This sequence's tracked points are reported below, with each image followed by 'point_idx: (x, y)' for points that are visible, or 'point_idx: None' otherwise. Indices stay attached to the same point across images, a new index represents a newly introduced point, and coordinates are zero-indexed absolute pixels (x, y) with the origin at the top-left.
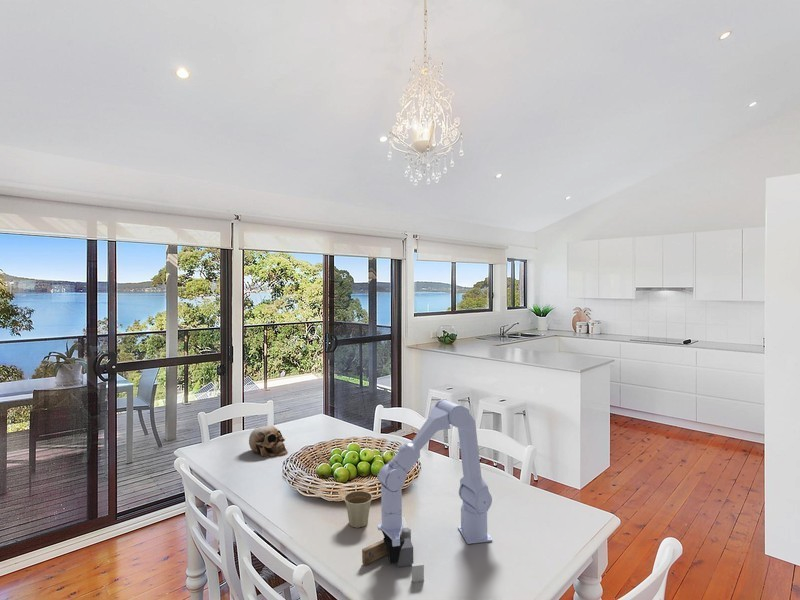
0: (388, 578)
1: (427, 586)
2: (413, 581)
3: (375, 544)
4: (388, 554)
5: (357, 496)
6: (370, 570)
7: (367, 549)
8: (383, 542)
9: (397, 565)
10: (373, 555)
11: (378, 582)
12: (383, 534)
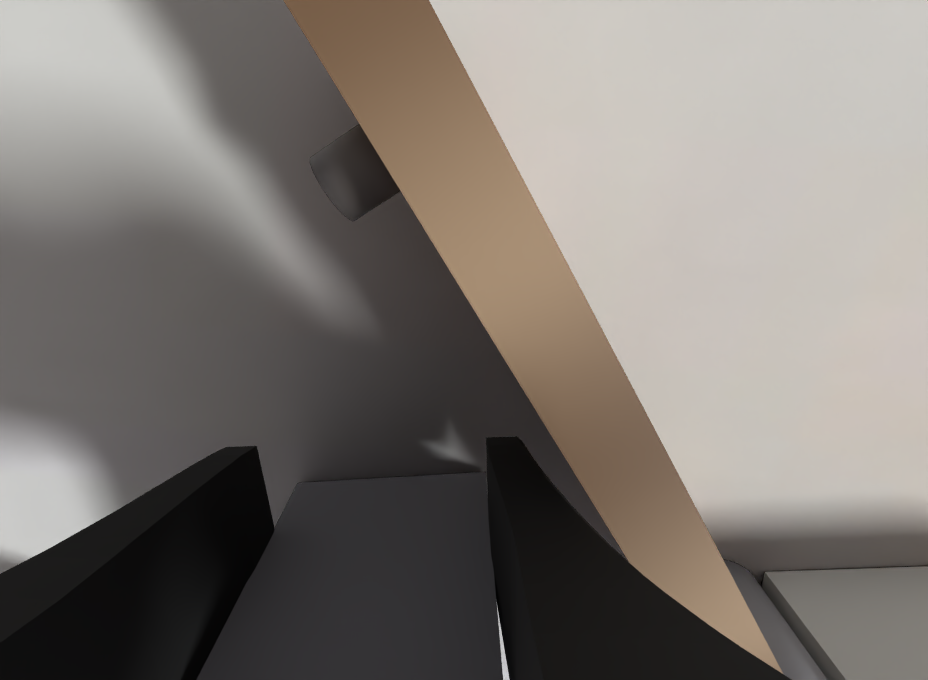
0: (97, 365)
1: None
2: None
3: (527, 296)
4: (147, 513)
5: None
6: (250, 144)
7: (339, 62)
8: (569, 464)
9: (297, 493)
10: (352, 214)
11: (2, 238)
12: (537, 668)
